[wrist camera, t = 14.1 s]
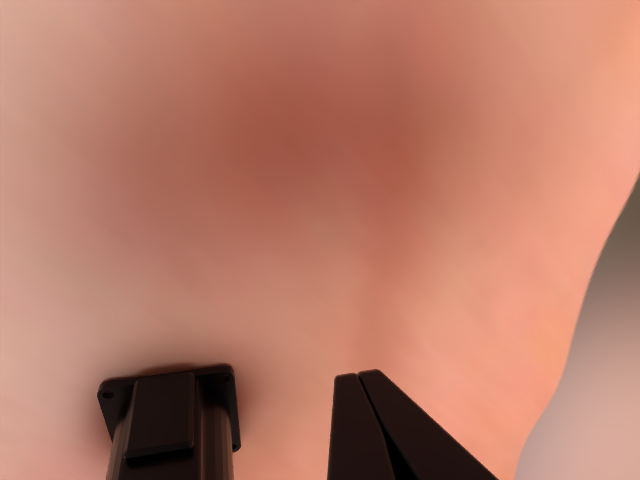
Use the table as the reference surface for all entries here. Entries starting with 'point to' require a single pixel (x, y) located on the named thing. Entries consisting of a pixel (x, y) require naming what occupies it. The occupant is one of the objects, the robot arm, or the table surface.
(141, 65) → the table surface
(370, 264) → the table surface
